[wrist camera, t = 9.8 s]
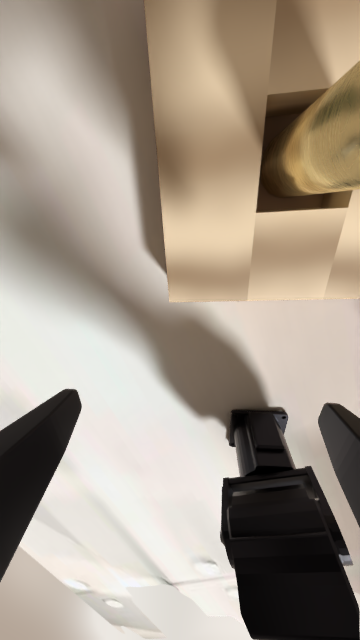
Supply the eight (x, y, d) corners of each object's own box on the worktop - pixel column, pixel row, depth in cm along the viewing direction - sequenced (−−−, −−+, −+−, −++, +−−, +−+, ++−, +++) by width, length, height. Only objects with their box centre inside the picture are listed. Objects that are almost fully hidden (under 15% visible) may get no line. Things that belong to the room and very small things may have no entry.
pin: (312, 195, 14) (453, 181, 6) (256, 199, 15) (325, 190, 7) (326, 125, 13) (541, -13, 5) (263, 131, 13) (364, 12, 5)
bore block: (369, 279, 17) (412, 297, 14) (174, 284, 19) (169, 302, 15) (490, -52, 10) (647, -193, 7) (155, 1, 12) (136, -90, 8)
